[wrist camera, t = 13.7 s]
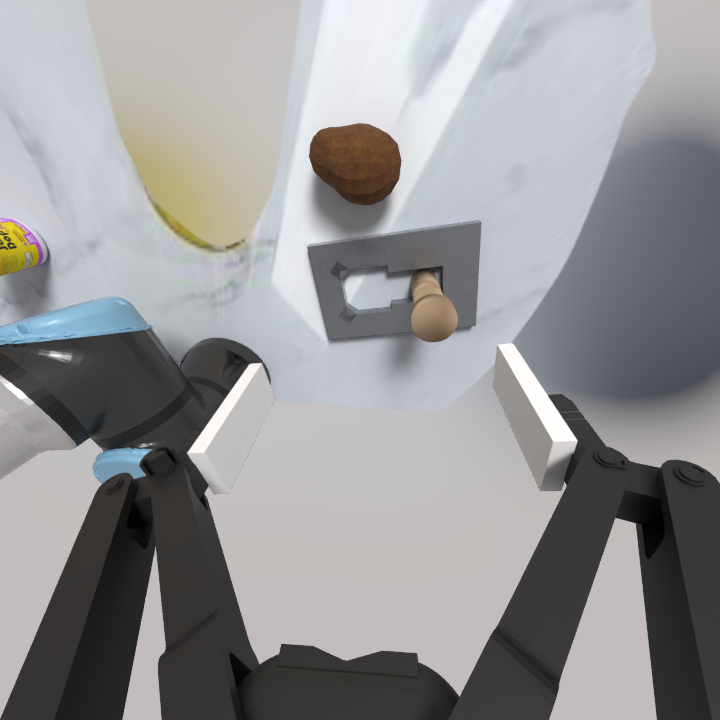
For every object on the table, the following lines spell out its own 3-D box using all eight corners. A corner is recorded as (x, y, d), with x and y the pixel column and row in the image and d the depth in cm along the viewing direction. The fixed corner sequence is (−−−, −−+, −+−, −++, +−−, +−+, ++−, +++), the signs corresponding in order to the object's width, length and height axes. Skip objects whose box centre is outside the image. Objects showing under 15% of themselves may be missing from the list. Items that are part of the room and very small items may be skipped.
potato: (319, 119, 34) (302, 109, 28) (406, 133, 34) (409, 126, 28) (316, 193, 38) (300, 200, 32) (393, 205, 38) (393, 215, 32)
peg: (407, 299, 45) (412, 344, 34) (405, 267, 42) (410, 303, 31) (441, 296, 44) (457, 340, 33) (440, 262, 42) (458, 298, 31)
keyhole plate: (330, 334, 49) (328, 339, 48) (309, 244, 42) (307, 246, 41) (473, 321, 46) (475, 325, 44) (478, 220, 38) (481, 222, 37)
